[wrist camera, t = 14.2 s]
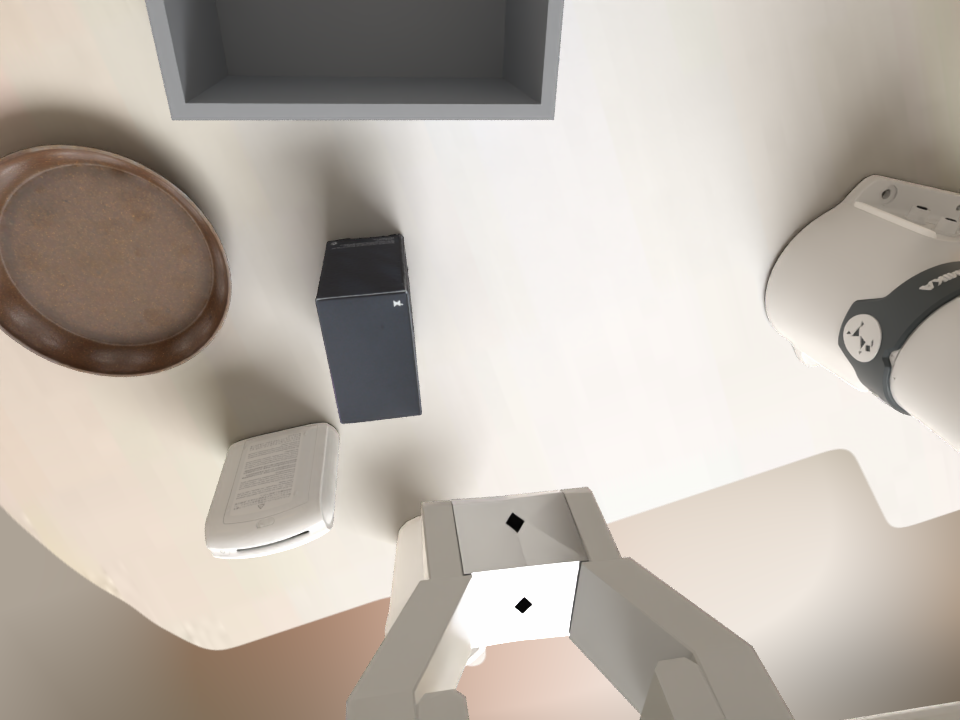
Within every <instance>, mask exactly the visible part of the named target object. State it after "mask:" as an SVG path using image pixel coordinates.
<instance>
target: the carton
mask: <svg viewBox="0 0 960 720" xmlns="http://www.w3.org/2000/svg"><path fill="white" fill-rule="evenodd" d="M145 2H146V7H147V11H148V16H149V20H150V25H151V29H152V33H153V38H154V42H155V47H156V51H157V56H158V60H159V65H160V69H161V73H162V78H163V82H164V87H165V91H166V96H167V100H168V104H169V109H170V113H171V118H172V120H554V113H555V101H556V89H557V77H558V65H559V54H560V42H561V30H562V18H563V6H564V0H145Z"/></svg>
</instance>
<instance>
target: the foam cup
mask: <svg viewBox="0 0 960 720" xmlns="http://www.w3.org/2000/svg"><path fill="white" fill-rule="evenodd" d="M421 580H424V573H423V553H422V524H421V516H418V517H416V518H413V519H411V520H409V521H407V522H406V523H405V524H404V525H403V526H402V528H401V529H400V530H399V533H398V538H397V545H396V554H395V563H394V572H393V581H392V590H391V599H390V609H389V614H388V618H387V622H386V627H385V637H386V635H387V634H388V632H389V630H390V629H391V627H392V626H393V624H394V622H395V621H396V619H397V617H398V616H399V614H400V612H401V611H402V609H403V608H404V606H405V604H406V603H407V601H408V599H409V598H410V596H411V594H412V593H413V591H414V589H415V588H416V586H417V585H418V583H419V581H421ZM485 648H486V646H480V647H474V648H471V653H470V656H469V658H468V661H467V663H466V665H468V664H470V663H472V662H473V661H474V660H475V659H476V658H477V657H478V656H479V655H480V654H481V653H482V652H484V650H485ZM466 665H465V666H466Z"/></svg>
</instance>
